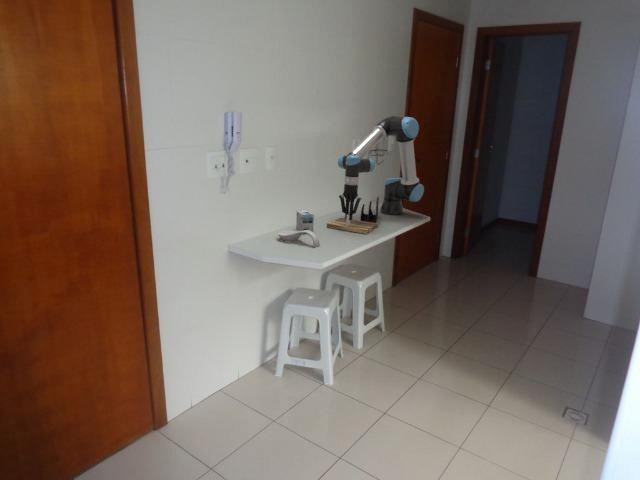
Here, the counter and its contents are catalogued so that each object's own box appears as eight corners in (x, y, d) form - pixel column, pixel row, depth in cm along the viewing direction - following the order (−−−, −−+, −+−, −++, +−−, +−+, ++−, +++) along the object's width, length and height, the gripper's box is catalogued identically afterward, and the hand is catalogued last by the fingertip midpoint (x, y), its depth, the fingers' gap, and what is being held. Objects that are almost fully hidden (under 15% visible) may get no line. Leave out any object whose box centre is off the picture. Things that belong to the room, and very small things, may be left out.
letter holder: (377, 216, 300) (379, 195, 296) (376, 224, 281) (378, 201, 277) (362, 215, 301) (363, 194, 297) (359, 222, 282) (361, 200, 278)
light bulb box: (313, 233, 255) (314, 214, 252) (301, 234, 252) (302, 214, 249) (306, 228, 264) (307, 209, 261) (295, 228, 262) (296, 210, 259)
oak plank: (333, 224, 276) (334, 220, 275) (372, 230, 266) (372, 227, 265) (326, 227, 267) (326, 223, 267) (365, 233, 257) (366, 230, 257)
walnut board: (340, 220, 285) (340, 217, 284) (377, 226, 275) (378, 223, 274) (334, 223, 277) (334, 220, 276) (372, 230, 267) (372, 226, 266)
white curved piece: (273, 240, 240) (273, 226, 238) (287, 235, 249) (287, 222, 247) (310, 249, 227) (311, 235, 225) (324, 244, 237) (324, 230, 234)
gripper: (337, 183, 257) (334, 224, 264) (359, 186, 252) (356, 228, 258) (343, 181, 264) (340, 222, 270) (364, 184, 259) (361, 226, 265)
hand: (348, 225), depth 264 cm, fingers closed
